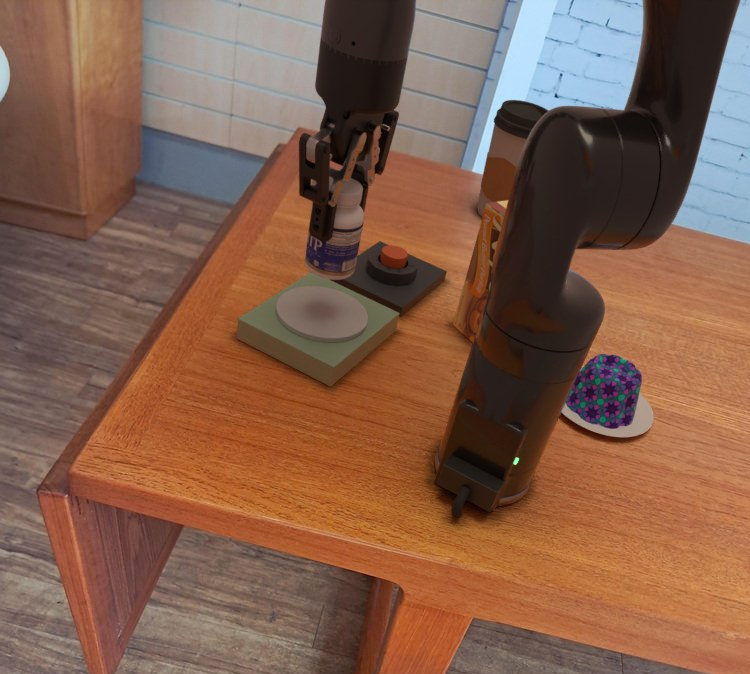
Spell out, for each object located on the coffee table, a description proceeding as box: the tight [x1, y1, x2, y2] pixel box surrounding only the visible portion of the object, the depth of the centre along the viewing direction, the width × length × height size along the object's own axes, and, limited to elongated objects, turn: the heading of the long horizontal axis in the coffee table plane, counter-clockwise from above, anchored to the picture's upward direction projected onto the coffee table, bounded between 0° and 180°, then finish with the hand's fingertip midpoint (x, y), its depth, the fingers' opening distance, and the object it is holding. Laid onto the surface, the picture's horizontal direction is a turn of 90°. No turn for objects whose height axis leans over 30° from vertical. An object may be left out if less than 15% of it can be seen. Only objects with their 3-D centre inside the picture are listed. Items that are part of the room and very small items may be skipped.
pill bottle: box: [304, 176, 365, 280], centre depth 78 cm, size 5×5×9 cm
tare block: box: [329, 240, 448, 318], centre depth 96 cm, size 12×10×3 cm
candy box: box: [452, 200, 508, 344], centre depth 86 cm, size 9×4×15 cm, turn 33°
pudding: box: [561, 353, 655, 438], centre depth 85 cm, size 12×12×5 cm
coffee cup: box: [476, 99, 550, 218], centre depth 112 cm, size 8×8×15 cm
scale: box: [236, 271, 400, 387], centre depth 85 cm, size 14×12×3 cm
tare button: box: [380, 244, 409, 269], centre depth 95 cm, size 3×3×2 cm
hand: (336, 227), depth 78 cm, fingers closed on pill bottle, 5 cm apart
